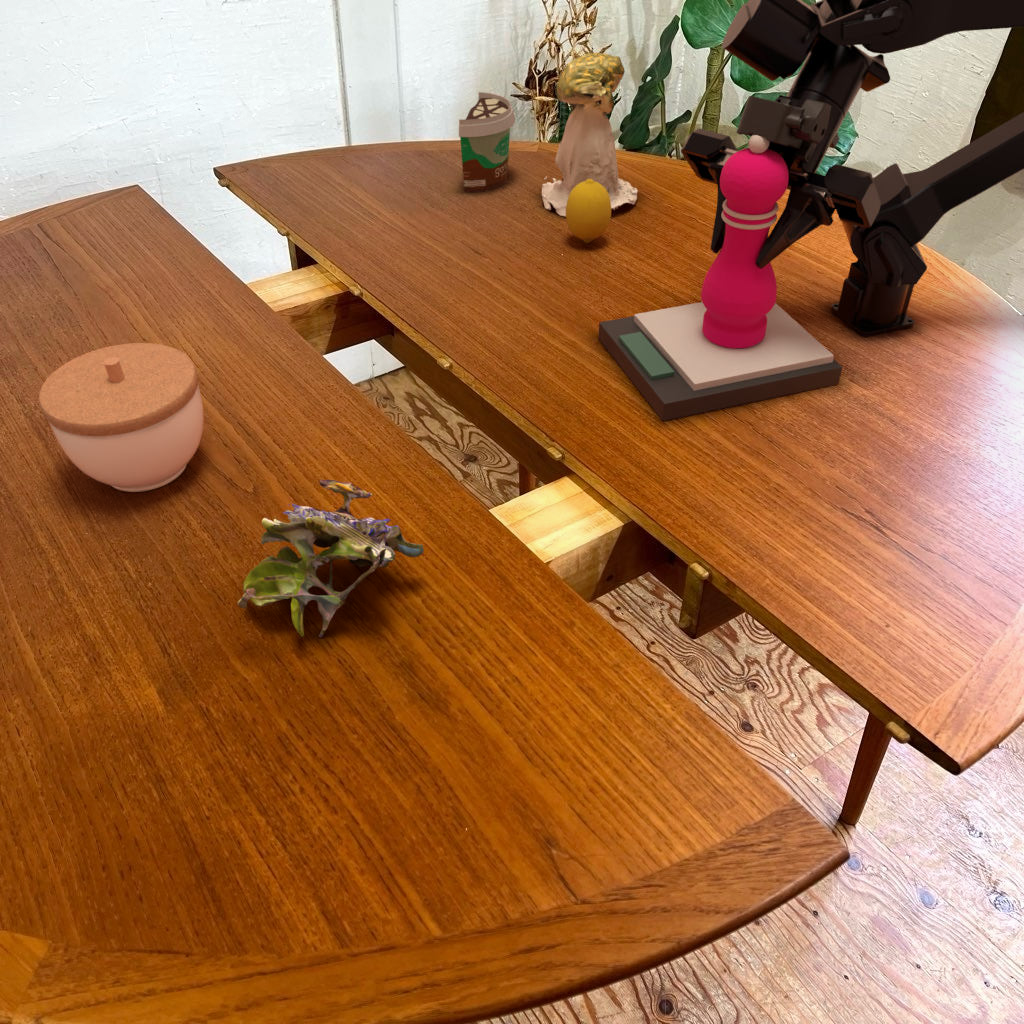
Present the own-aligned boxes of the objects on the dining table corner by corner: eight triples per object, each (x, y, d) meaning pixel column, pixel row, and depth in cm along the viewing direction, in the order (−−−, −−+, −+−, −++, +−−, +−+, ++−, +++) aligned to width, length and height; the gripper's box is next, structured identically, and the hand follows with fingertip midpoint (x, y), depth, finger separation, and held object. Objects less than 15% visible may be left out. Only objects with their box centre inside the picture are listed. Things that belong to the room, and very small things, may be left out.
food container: (505, 199, 130) (504, 123, 123) (461, 196, 131) (458, 120, 124) (523, 165, 139) (522, 93, 132) (481, 162, 140) (479, 90, 133)
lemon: (617, 238, 120) (621, 175, 115) (596, 256, 116) (599, 191, 111) (578, 229, 122) (580, 167, 117) (556, 245, 119) (557, 182, 114)
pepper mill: (694, 348, 95) (716, 147, 81) (699, 311, 100) (719, 116, 87) (769, 354, 93) (803, 150, 80) (770, 316, 99) (802, 119, 85)
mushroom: (652, 211, 126) (665, 63, 114) (560, 225, 123) (564, 74, 111) (617, 178, 134) (626, 37, 123) (530, 190, 132) (531, 46, 120)
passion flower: (365, 613, 79) (444, 514, 74) (331, 701, 70) (418, 595, 65) (246, 541, 77) (318, 433, 71) (194, 622, 68) (272, 505, 62)
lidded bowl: (67, 445, 89) (26, 341, 81) (205, 413, 92) (177, 310, 85) (78, 528, 80) (33, 419, 73) (230, 489, 83) (201, 381, 76)
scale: (757, 308, 106) (761, 285, 104) (838, 384, 95) (844, 359, 93) (598, 338, 102) (599, 315, 100) (662, 421, 90) (665, 396, 88)
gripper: (703, 37, 87) (622, 193, 88) (899, 77, 77) (806, 251, 79) (737, 104, 97) (664, 244, 98) (915, 147, 87) (832, 302, 88)
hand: (735, 258), depth 90 cm, fingers closed on pepper mill, 4 cm apart
